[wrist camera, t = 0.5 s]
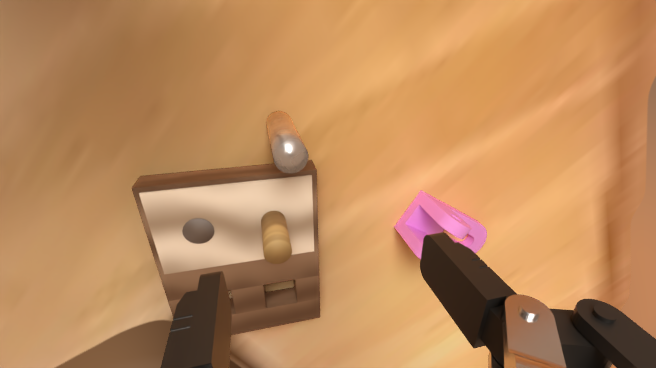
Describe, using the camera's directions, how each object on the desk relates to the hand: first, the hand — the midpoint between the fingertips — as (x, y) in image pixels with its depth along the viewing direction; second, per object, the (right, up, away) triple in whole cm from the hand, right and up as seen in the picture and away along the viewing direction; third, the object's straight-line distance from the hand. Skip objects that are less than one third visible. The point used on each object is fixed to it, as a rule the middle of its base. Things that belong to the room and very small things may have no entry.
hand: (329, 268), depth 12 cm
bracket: (+15, -2, +28) cm, 32 cm away
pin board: (-9, -4, +22) cm, 25 cm away
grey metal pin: (-5, +9, +17) cm, 20 cm away
